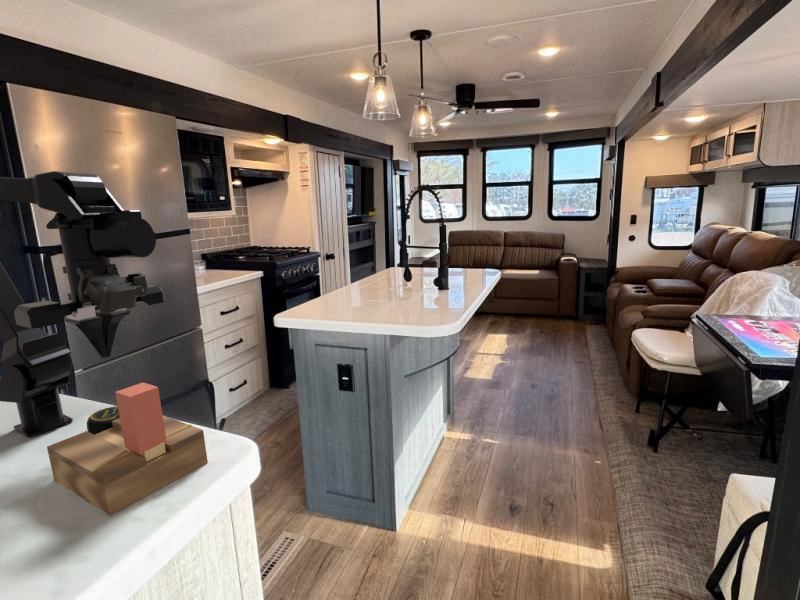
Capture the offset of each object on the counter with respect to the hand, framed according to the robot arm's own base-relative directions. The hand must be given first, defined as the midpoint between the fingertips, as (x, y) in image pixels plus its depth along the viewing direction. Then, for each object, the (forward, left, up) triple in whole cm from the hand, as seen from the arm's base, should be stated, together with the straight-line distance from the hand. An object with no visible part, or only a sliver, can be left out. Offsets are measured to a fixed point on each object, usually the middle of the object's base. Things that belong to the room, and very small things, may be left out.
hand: (105, 357), depth 71 cm
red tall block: (+18, -5, -9) cm, 21 cm away
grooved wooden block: (+13, -5, -13) cm, 19 cm away
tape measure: (-1, 0, -13) cm, 13 cm away
